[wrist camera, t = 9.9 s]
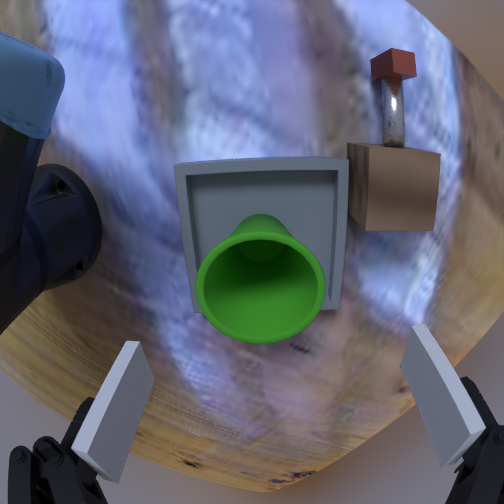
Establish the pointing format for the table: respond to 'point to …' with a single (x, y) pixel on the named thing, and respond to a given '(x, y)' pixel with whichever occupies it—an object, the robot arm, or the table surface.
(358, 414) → the table surface
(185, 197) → the tray
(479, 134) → the table surface
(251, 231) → the cup
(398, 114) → the pin
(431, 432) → the robot arm
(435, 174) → the mount
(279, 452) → the table surface
